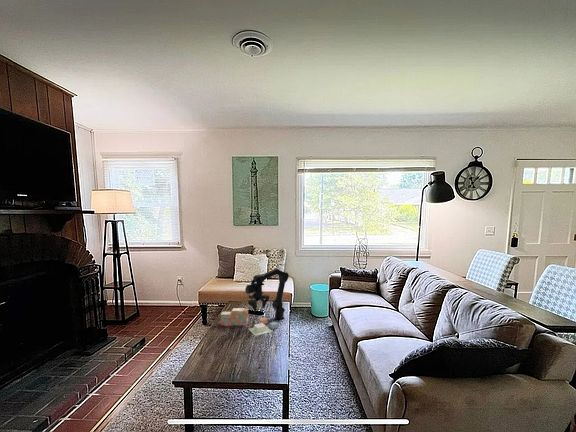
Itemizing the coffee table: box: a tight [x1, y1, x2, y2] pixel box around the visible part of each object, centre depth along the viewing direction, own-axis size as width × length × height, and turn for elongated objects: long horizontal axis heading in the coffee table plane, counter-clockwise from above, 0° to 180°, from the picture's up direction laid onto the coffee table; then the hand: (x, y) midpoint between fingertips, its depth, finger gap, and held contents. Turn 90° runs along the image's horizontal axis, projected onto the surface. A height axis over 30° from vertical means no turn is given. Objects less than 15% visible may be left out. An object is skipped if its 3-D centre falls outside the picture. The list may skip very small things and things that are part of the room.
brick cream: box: [253, 323, 267, 333], centre depth 209 cm, size 7×7×4 cm
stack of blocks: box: [219, 307, 249, 327], centre depth 221 cm, size 21×6×12 cm, turn 85°
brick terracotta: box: [258, 316, 269, 325], centre depth 222 cm, size 5×5×4 cm
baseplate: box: [248, 325, 273, 337], centre depth 209 cm, size 14×14×1 cm
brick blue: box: [269, 321, 279, 330], centre depth 213 cm, size 5×5×4 cm
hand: (259, 310), depth 220 cm, fingers open, 9 cm apart
